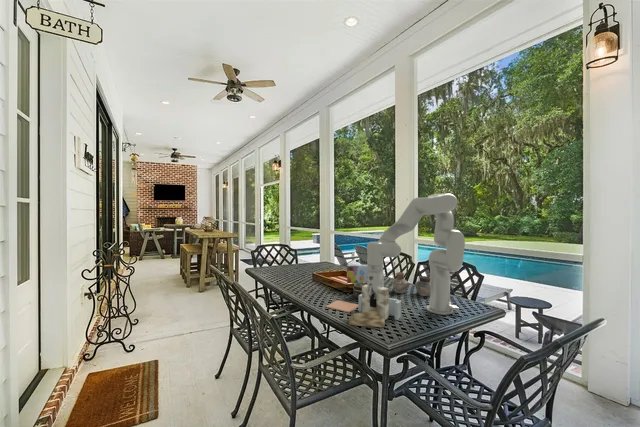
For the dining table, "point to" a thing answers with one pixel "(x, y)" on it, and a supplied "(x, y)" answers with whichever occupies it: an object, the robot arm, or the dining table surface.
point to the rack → (393, 307)
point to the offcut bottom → (368, 322)
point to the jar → (357, 289)
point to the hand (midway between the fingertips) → (375, 305)
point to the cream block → (381, 302)
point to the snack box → (357, 273)
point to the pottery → (421, 285)
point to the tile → (342, 306)
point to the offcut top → (366, 316)
